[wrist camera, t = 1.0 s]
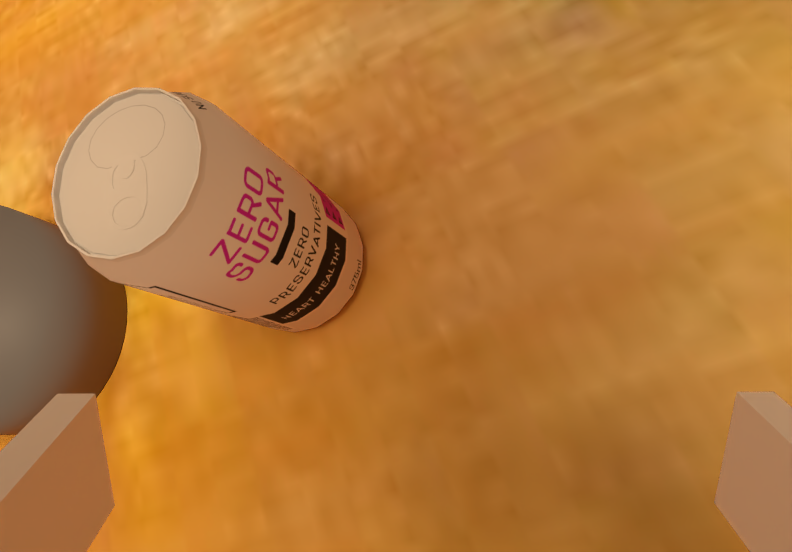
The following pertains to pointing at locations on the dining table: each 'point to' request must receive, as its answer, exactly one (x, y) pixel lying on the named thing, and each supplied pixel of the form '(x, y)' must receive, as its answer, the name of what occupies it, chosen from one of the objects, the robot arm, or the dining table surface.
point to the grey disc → (51, 320)
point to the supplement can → (202, 213)
